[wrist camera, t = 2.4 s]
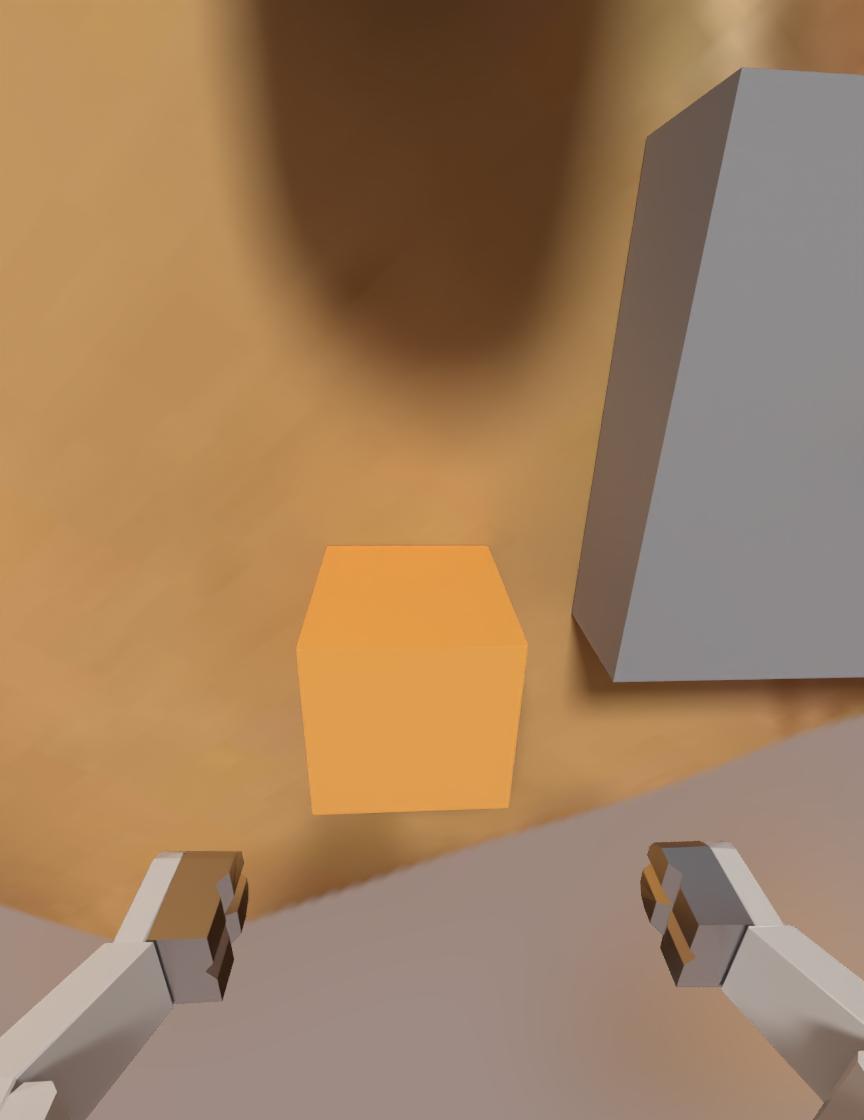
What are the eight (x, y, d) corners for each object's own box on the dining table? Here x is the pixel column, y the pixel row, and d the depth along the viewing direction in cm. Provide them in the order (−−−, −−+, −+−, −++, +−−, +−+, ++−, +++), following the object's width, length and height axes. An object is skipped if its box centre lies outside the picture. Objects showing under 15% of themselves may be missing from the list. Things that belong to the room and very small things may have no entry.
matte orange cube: (335, 677, 20) (312, 814, 14) (327, 545, 17) (296, 648, 12) (477, 675, 20) (508, 807, 15) (487, 545, 18) (528, 645, 12)
